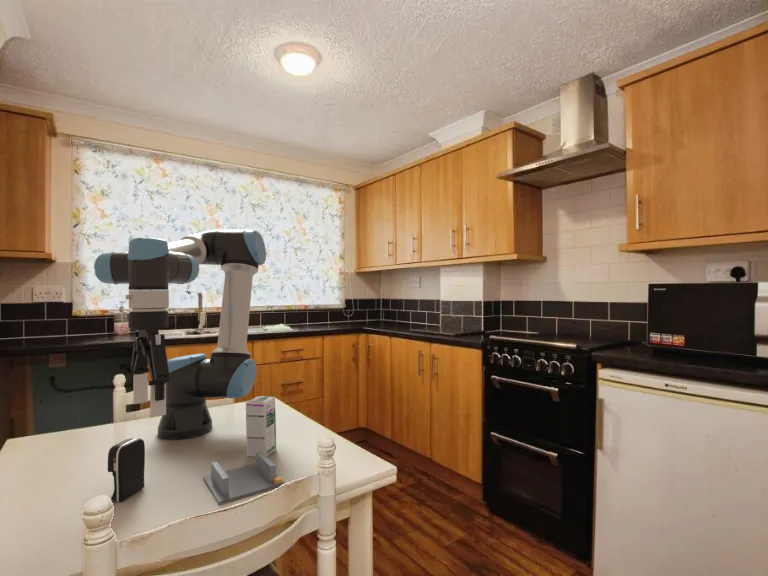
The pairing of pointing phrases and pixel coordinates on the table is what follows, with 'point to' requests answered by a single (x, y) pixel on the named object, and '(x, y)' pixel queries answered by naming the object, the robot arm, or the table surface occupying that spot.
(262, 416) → the syrup box
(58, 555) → the table surface
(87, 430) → the table surface
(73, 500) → the table surface
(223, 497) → the dock
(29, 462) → the table surface
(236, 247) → the robot arm
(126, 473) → the battery
